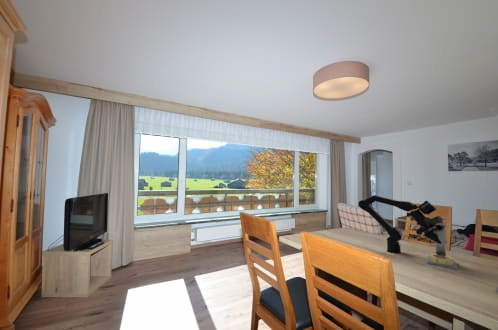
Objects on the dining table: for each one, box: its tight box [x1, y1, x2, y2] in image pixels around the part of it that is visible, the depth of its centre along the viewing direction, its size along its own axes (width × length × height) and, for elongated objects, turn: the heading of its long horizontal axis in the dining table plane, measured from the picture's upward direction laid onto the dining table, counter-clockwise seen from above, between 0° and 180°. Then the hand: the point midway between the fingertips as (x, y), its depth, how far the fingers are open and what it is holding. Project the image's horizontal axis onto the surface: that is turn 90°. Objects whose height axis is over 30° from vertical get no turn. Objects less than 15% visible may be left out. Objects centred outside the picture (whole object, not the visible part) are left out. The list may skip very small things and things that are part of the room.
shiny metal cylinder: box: [434, 230, 447, 256], centre depth 121 cm, size 4×4×13 cm
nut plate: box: [426, 253, 458, 270], centre depth 120 cm, size 12×12×4 cm
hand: (443, 243), depth 119 cm, fingers closed on shiny metal cylinder, 4 cm apart
